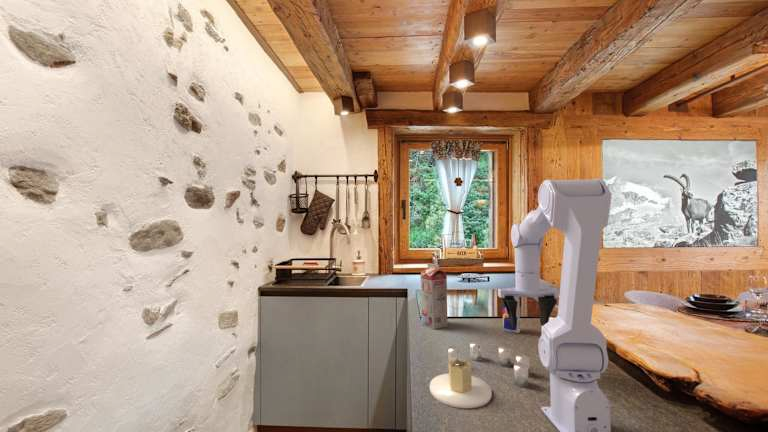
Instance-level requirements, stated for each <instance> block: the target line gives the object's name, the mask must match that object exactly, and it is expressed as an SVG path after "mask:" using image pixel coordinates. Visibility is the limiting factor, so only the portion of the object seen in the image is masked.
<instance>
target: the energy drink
mask: <svg viewBox="0 0 768 432" xmlns="http://www.w3.org/2000/svg"><path fill="white" fill-rule="evenodd" d="M514 298H515V300H516V301H517V302H518V304H517V311H516V319H517V326H516V327H513V326H512V325H511V324H510V319H509V316H508V312H507V310H506V307H505V305H504V303H503V301H502V300H501V302H502V305H501V306H502V330H503V331H504V333H507V334H511V335H514V334H516V335H517V334H520V332H521V315H520V314H521V313H520V311H521V310H520V297H514Z"/></svg>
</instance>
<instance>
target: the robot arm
mask: <svg viewBox="0 0 768 432" xmlns="http://www.w3.org/2000/svg"><path fill="white" fill-rule="evenodd" d="M611 201H612V192H611V191H610V189H609V187H608V185H607V184H606V182H605V181H604V180H603V179H601V178H593V179H592V178H591V179H587V178H586V179H556V180H555V179H553V180H552V179H545V180H543V182H541V184H540V186H539V189H538V193H537V202H538V206H537V208H536V209H532V210H530V212H528V213H527V214H526V216H525V217H524V219H523V220H522V221H521V223H520V224H517V223H514V224H513V225H512V226H511V230H510V240H511V244H512V246H513V247H514V271H515V272H514V273H515V277H514V278H515V287H507V288H505V287H504V288H497V297H499V298H500V299H501V302H502V301H503V303H504V305H505V307H506V310H507V312H508V316H509V319H510V324H511V325H512V326H513V327H516V326H517V319H516V311H517V304H518V302H517V301H516V300H515V298H514V297H519V298H537V299H538V304H539V306H538V307H539V322H540V325H541V327H542V326H543V329H542V328H541V334H540V337H539V339H538V345H537V347H538V357H539V359H540V361H541V364H542V365H543V367H544V368H545V369H546V370H547V371H549V389H550V390H549V391H550V393H549V394H550V406H541V411H542V412H543V413H544V415H546V417H547V418H548V419H549V421H550V422H551V423H552V424H553V425H554V427H556V429H557V430H558V431H559V432H612V431H611V430H612V429H611V404H610V402H609V399H608V397H607V395H605V394H604V392H603V391H602V390H601V388H599V385H598V381H597V380H600V379H601V374H603V373H605V372H606V370H607V368H608V366H609V355H608V351H607V350H608V349H607V341H608V340H607V339H606V336H605V335H604V333H603V332H602V331H601V330H600V329H599V328H598V327H597V326H595V325H594V324H592V315H593V309H594V307H593V306H594V299H595V292H596V291H595V290H596V282H597V275H598V274H597V272H598V267H599V266H598V265H599V256H600V247H601V240H602V232H603V231H602V230H603V229H605V228H607V227H608V225H609V217H610V209H611V203H612V202H611ZM552 228H554V229H556V230H559V231H561V232H562V233H563V235H564V243H563V244H564V245H563V255H562V263H561V264H562V265H561V273H560V274H561V277H560V286H559V289H558V288H554V287H553V288H552V287H550V288H549V287H541V268H540V267H541V266H540V263H541V262H540V260H541V259H540V255H541V254H542V252H543V251H542V246H543V243H544V236H545V235H546V234H547V233H548V232H549V231H550V230H551V229H552ZM557 300H558V301H557ZM557 302H558V303H557ZM557 304H558V309H557V316H556V317H553V318H554V319H552V320H551V321H549V317H551V314H552V312H553V310H554V308H555V306H556V305H557ZM548 321H549V322H548Z"/></svg>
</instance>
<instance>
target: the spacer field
mask: <svg viewBox="0 0 768 432" xmlns="http://www.w3.org/2000/svg"><path fill="white" fill-rule="evenodd" d="M447 349H448V350H447V355H448V357H447V358H448V360H447V361H451V360H455V359H460V360H461V348H460V347H458V346H449V347H448V348H447ZM497 351H498V353H497V354H498V355H497V356H498V365H499V366H501V367H504V366H505V368H508V366H509V367H511V366H512V350H511V348H510V347H508V346H505V345H504V346H502V345H500V346H498V349H497ZM482 353H483V352H482V343H481V342H479V341H470V342H469V358H470V360H471V361H475V362H479V361H482ZM530 367H531V366H530V356H529V355H527V354H523V353H517V354H516V355H515V363H513V384H514V385H515V386H518V387H520V388H527V387H529V384H530V383H529V376H530V375H531V373H530V372H531V371H530Z"/></svg>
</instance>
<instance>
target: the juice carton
mask: <svg viewBox="0 0 768 432" xmlns="http://www.w3.org/2000/svg"><path fill="white" fill-rule="evenodd" d="M426 264H427V267H426V268H425V269H424V270H422V271H421V272H420V304H421V305H420V310H421V312H420V314H421V316H420V317H421V318H420V320H421V325H422V326H424V327H426V328H429V329H431V330H436V329H441V328H446V327H449V326H448V284H447V283H448V281H447V280H448V279H447V277H448V275H447V273H446V272H445V271H443V270H441V269H440V264H434V263H428V262H427V263H426Z"/></svg>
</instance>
